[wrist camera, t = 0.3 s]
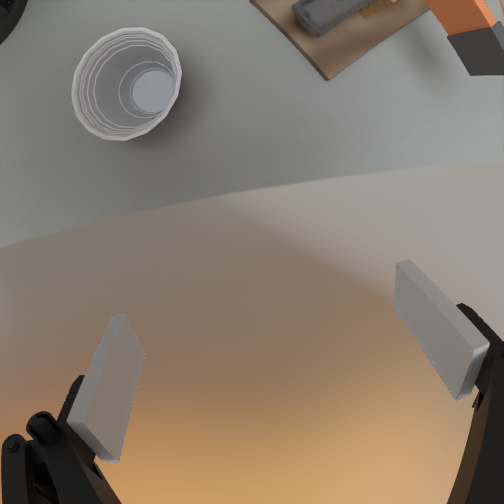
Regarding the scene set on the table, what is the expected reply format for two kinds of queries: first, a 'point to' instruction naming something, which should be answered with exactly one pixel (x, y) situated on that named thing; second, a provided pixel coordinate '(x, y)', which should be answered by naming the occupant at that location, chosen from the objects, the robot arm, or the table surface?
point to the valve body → (333, 12)
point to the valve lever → (472, 34)
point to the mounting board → (340, 32)
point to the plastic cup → (126, 83)
